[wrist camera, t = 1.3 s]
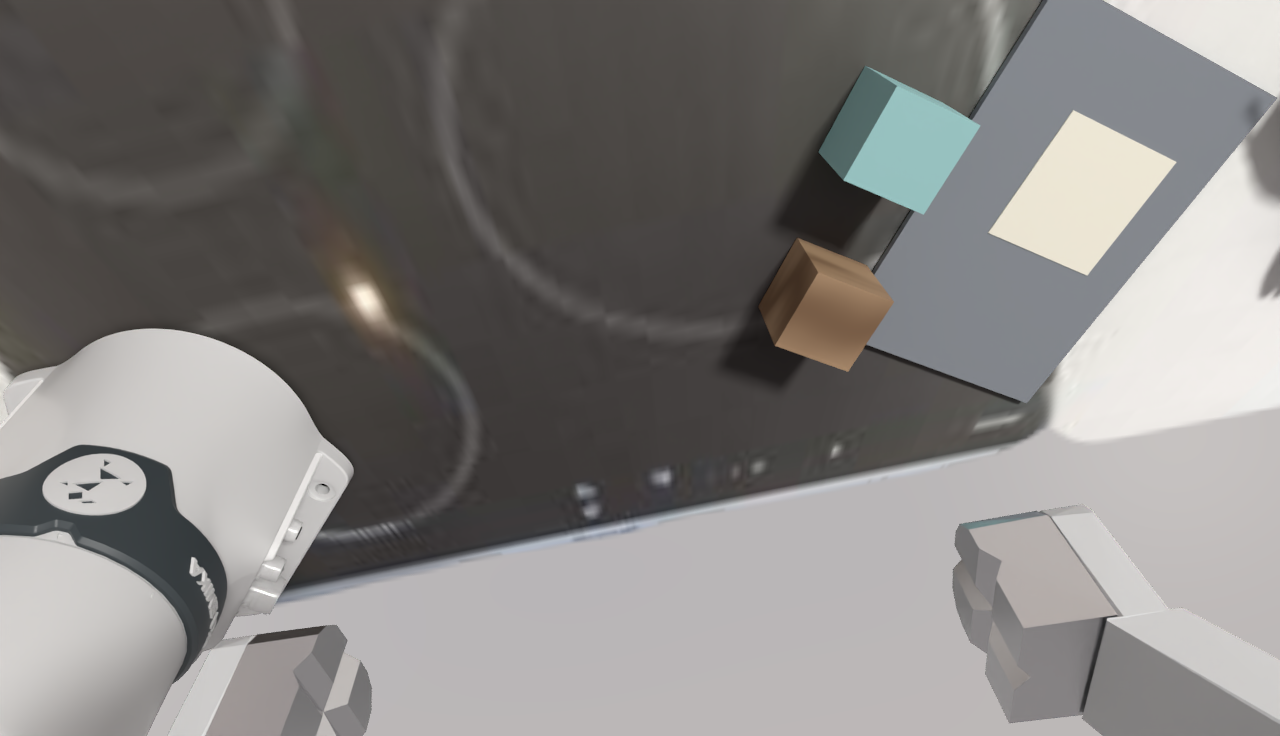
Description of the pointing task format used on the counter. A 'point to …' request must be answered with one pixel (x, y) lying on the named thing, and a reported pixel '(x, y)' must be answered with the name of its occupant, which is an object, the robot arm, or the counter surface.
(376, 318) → the counter surface
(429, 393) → the counter surface
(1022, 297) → the mat
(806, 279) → the walnut block
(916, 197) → the teal block
